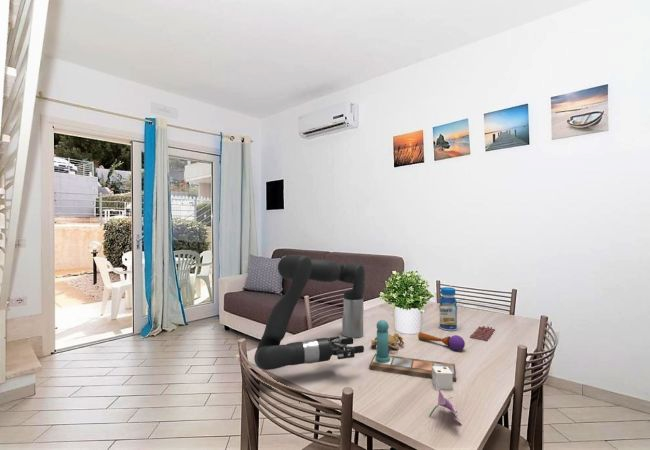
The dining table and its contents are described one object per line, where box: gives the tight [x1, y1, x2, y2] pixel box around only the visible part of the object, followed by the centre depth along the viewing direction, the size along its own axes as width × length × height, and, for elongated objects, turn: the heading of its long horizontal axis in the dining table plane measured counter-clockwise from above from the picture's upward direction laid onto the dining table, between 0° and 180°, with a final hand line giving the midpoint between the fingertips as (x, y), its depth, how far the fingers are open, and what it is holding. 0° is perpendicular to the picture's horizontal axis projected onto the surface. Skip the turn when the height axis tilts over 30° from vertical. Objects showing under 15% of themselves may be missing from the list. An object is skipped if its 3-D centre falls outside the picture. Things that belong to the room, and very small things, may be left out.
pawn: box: [375, 319, 391, 363], centre depth 118 cm, size 5×5×14 cm
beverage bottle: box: [438, 286, 458, 332], centre depth 159 cm, size 8×8×20 cm
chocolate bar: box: [469, 325, 496, 342], centre depth 151 cm, size 7×19×2 cm, turn 143°
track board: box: [368, 353, 457, 383], centre depth 114 cm, size 29×11×2 cm, turn 70°
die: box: [431, 366, 454, 390], centre depth 102 cm, size 5×5×5 cm
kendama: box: [417, 331, 466, 352], centre depth 137 cm, size 6×6×20 cm
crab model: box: [370, 332, 405, 351], centre depth 135 cm, size 16×13×6 cm
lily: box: [428, 375, 462, 425], centre depth 85 cm, size 12×12×10 cm
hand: (358, 344), depth 114 cm, fingers open, 8 cm apart
